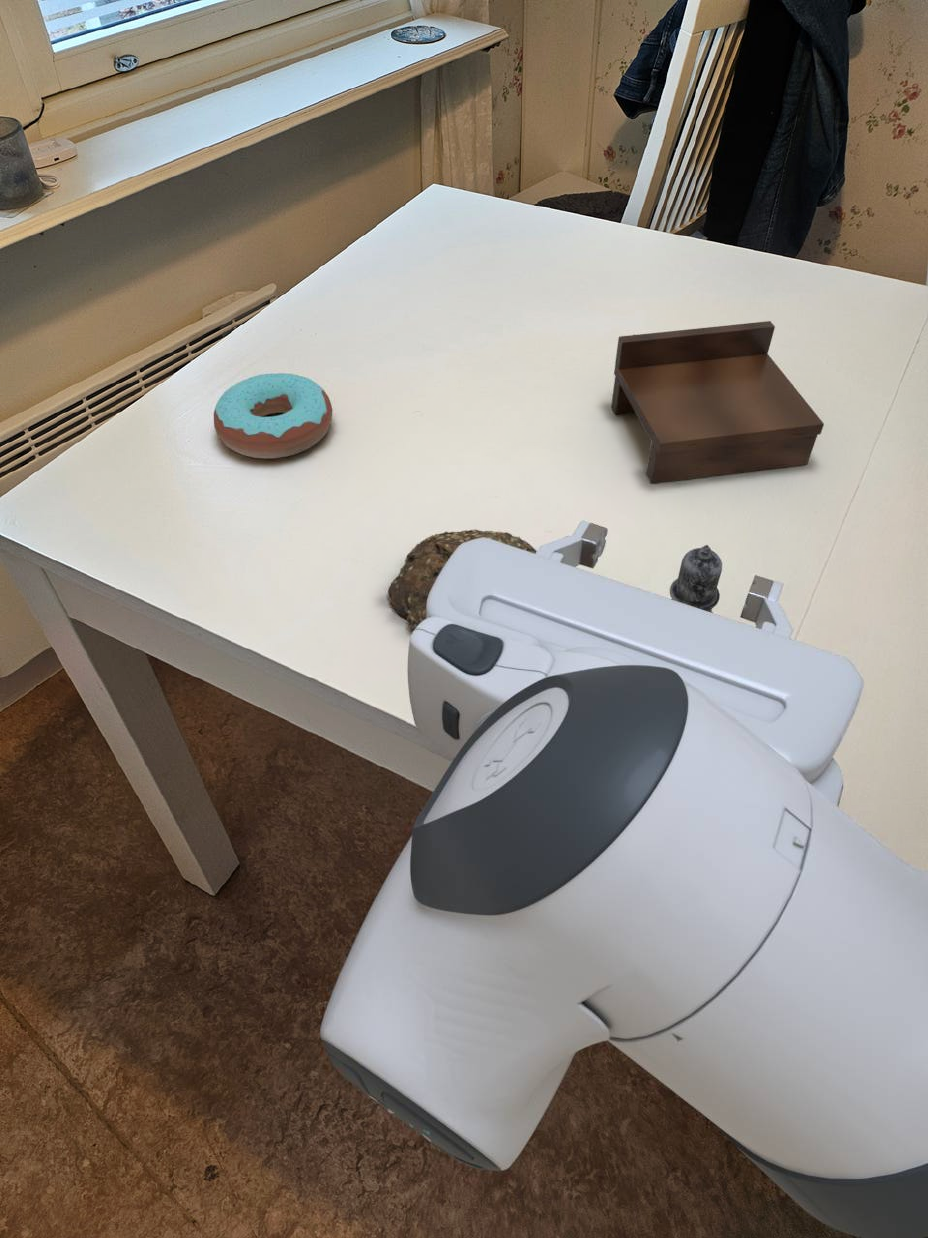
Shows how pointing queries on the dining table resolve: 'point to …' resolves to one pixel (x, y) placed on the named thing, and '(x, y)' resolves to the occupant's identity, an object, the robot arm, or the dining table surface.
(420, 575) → the bread roll
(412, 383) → the dining table surface
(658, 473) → the shelf
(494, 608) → the robot arm
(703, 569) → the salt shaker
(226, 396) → the donut
